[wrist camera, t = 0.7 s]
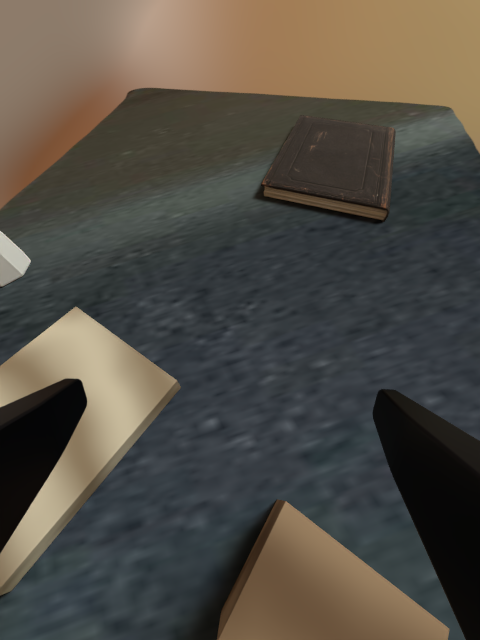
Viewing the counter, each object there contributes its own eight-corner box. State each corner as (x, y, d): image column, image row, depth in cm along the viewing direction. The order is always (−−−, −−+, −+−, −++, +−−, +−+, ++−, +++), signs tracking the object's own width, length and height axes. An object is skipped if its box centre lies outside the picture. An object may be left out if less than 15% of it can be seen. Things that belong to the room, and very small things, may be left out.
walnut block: (363, 752, 12) (411, 853, 9) (221, 609, 14) (216, 644, 11) (401, 597, 15) (449, 629, 11) (276, 499, 17) (285, 501, 14)
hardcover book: (260, 200, 36) (261, 183, 34) (298, 130, 48) (300, 114, 46) (383, 225, 33) (392, 208, 31) (390, 144, 45) (397, 128, 43)
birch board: (11, 590, 15) (-10, 599, 13) (-85, 453, 18) (-108, 450, 17) (180, 387, 21) (177, 380, 20) (84, 316, 25) (75, 306, 23)
